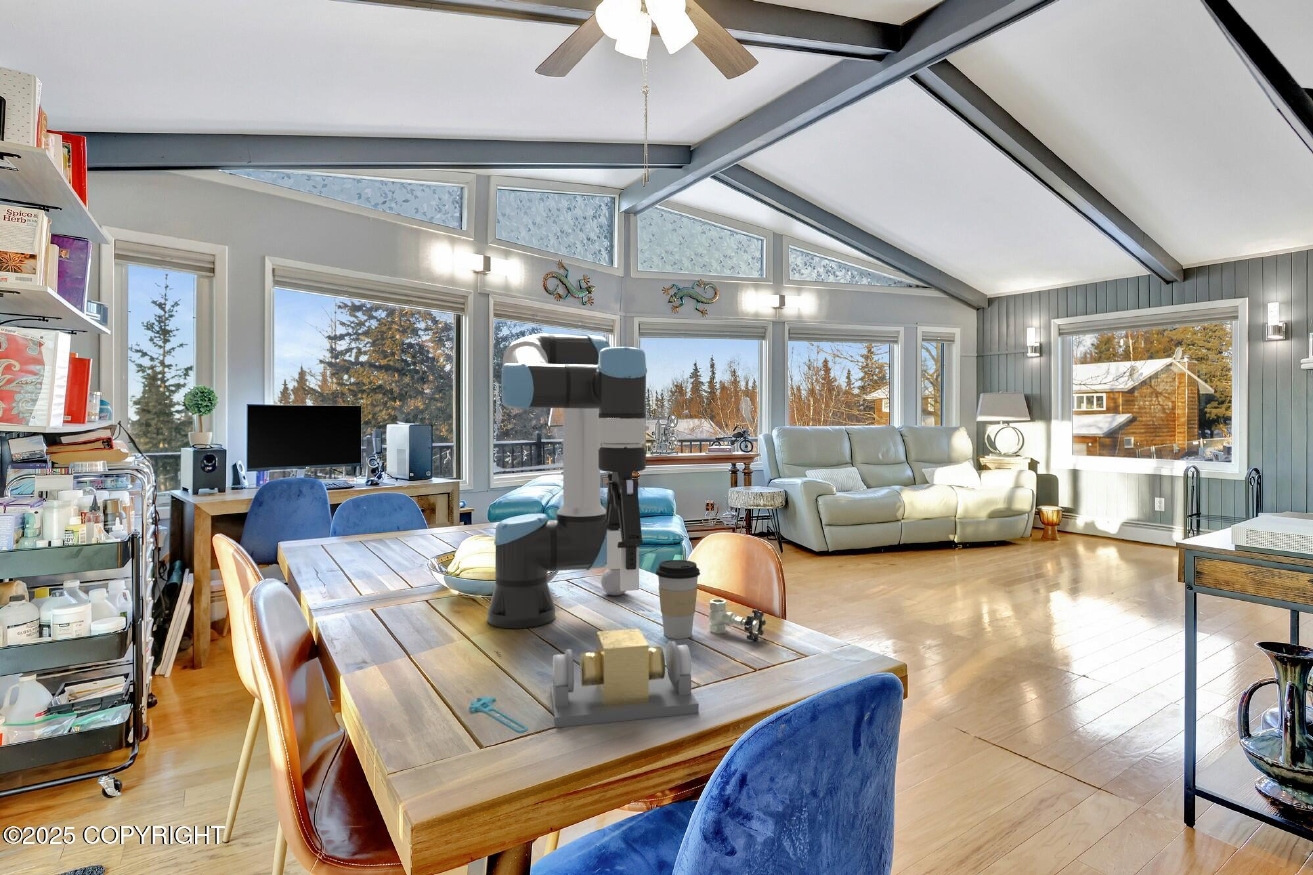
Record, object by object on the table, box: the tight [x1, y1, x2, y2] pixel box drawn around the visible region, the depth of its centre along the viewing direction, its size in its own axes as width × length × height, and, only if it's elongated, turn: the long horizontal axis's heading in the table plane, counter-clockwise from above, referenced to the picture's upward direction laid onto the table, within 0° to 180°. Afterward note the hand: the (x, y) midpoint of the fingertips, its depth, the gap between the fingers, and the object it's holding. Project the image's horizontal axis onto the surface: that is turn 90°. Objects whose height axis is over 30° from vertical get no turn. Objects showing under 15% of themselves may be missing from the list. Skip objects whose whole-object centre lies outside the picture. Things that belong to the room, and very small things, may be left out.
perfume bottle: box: [600, 569, 627, 596], centre depth 168 cm, size 8×10×12 cm
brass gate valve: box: [579, 628, 666, 707], centre depth 103 cm, size 8×13×9 cm, turn 103°
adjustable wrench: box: [468, 696, 528, 733], centre depth 99 cm, size 14×1×5 cm
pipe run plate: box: [550, 640, 700, 729], centre depth 103 cm, size 12×22×9 cm, turn 103°
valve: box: [708, 598, 767, 643], centre depth 136 cm, size 7×7×12 cm
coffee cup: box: [655, 559, 701, 640], centre depth 136 cm, size 9×9×15 cm
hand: (622, 578), depth 103 cm, fingers open, 13 cm apart
